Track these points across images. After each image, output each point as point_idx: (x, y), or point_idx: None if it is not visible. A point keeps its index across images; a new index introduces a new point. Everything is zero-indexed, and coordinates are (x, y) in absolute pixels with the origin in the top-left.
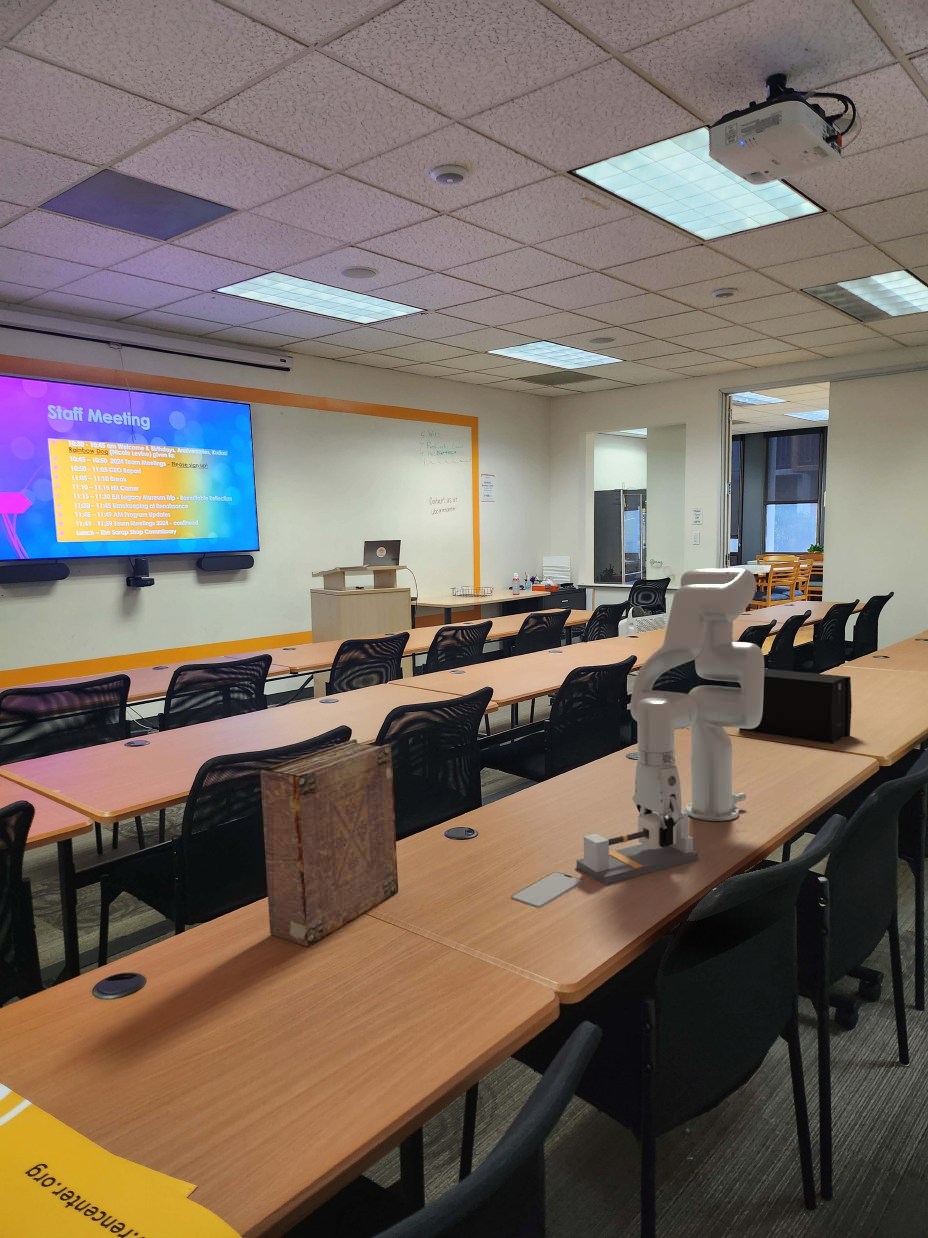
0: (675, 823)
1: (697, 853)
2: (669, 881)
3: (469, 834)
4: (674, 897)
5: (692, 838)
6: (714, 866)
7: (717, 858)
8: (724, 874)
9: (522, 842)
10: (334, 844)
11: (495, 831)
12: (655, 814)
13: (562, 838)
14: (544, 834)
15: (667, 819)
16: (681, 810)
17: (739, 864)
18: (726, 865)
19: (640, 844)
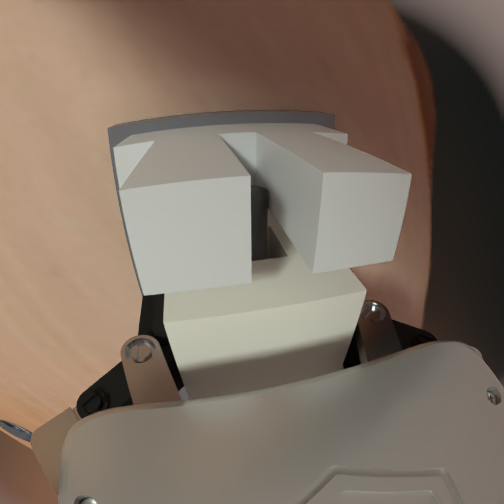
0: (410, 332)
1: (333, 118)
2: (367, 289)
3: (21, 430)
4: (407, 311)
5: (346, 136)
6: (387, 113)
7: (347, 47)
8: (429, 139)
9: (45, 412)
10: None
11: (4, 410)
12: (222, 374)
13: (20, 366)
14: (3, 377)
15: (345, 347)
16: (328, 178)
17: (412, 43)
18: (400, 77)
19: (136, 272)
